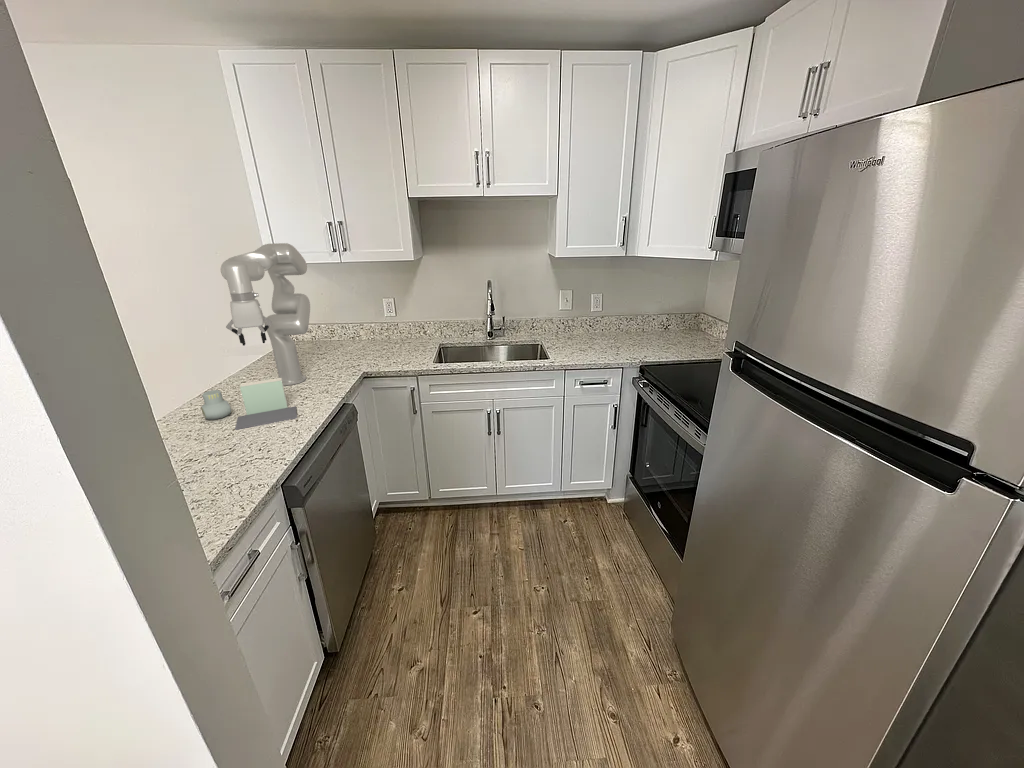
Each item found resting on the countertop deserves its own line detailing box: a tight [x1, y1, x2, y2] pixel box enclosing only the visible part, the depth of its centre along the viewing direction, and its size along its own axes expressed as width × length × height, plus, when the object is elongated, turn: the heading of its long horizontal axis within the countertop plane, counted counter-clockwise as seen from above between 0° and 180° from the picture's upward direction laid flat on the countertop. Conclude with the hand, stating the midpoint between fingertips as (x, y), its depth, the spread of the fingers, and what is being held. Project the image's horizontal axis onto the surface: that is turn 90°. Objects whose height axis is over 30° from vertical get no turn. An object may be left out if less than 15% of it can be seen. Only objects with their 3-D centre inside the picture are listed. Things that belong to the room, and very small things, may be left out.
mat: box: [234, 405, 298, 431], centre depth 160 cm, size 12×20×1 cm, turn 117°
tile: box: [239, 377, 289, 415], centre depth 165 cm, size 4×14×12 cm, turn 117°
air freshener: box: [200, 389, 232, 421], centre depth 161 cm, size 11×8×10 cm
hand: (254, 343), depth 165 cm, fingers open, 6 cm apart
